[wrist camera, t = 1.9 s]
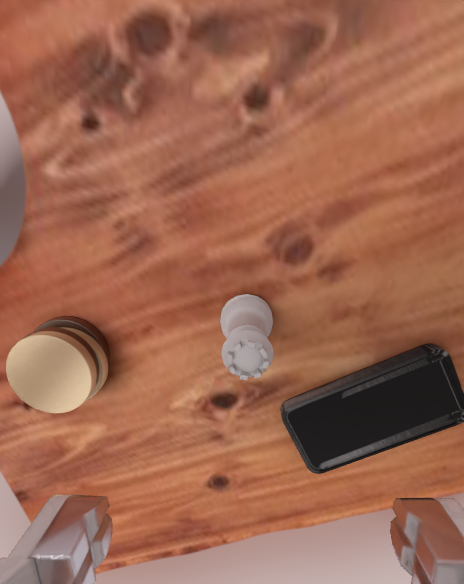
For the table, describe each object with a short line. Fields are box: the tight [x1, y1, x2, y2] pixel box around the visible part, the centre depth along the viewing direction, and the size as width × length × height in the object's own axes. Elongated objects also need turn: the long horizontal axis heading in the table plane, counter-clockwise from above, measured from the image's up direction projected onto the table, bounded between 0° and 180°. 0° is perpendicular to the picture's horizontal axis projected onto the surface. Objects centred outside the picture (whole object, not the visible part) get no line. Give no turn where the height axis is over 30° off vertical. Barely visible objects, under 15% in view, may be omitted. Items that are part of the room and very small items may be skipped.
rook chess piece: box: [220, 294, 274, 380], centre depth 21 cm, size 4×4×8 cm
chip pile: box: [6, 316, 109, 413], centre depth 25 cm, size 8×8×4 cm
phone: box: [281, 344, 464, 474], centre depth 26 cm, size 8×1×15 cm
